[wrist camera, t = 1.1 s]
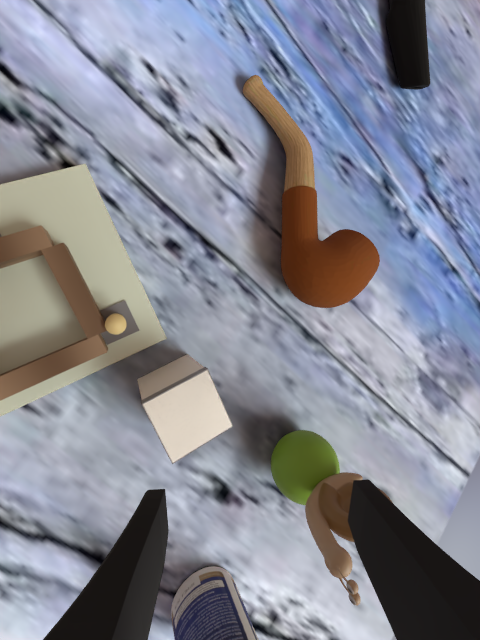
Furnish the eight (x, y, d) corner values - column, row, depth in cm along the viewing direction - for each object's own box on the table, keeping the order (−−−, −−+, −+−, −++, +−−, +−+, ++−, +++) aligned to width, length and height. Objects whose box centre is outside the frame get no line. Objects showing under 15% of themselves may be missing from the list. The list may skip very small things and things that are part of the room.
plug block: (160, 426, 22) (172, 464, 17) (136, 378, 21) (141, 404, 16) (208, 398, 23) (233, 426, 18) (187, 353, 23) (207, 369, 18)
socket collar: (-19, 405, 17) (-31, 414, 16) (-103, 276, 15) (-125, 273, 14) (117, 344, 19) (116, 347, 18) (57, 227, 18) (52, 221, 16)
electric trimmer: (385, 103, 29) (415, 81, 26) (368, -82, 26) (399, -128, 24) (411, 104, 30) (443, 84, 27) (397, -72, 28) (430, -114, 25)
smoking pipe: (290, 321, 26) (334, 327, 21) (189, 105, 22) (212, 41, 16) (347, 284, 28) (400, 280, 23) (266, 80, 24) (309, 16, 18)
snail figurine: (243, 439, 25) (343, 553, 14) (305, 411, 27) (435, 489, 16) (257, 495, 26) (362, 645, 15) (316, 463, 28) (447, 571, 17)
